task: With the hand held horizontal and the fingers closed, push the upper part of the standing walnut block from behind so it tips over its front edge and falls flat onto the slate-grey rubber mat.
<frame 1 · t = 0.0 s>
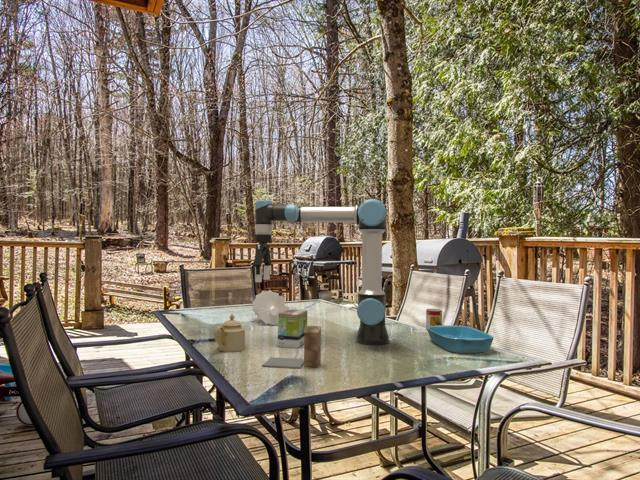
hand: (262, 281, 214), 28 cm above the table, tool pointing down, fingers open, 13 cm apart
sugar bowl: (230, 350, 198), on the table
walnut block: (312, 365, 176), on the table
casserole dish: (458, 347, 211), on the table
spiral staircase: (269, 323, 268), on the table
mat: (284, 363, 177), on the table
tea box: (292, 344, 211), on the table
canned food: (433, 333, 242), on the table
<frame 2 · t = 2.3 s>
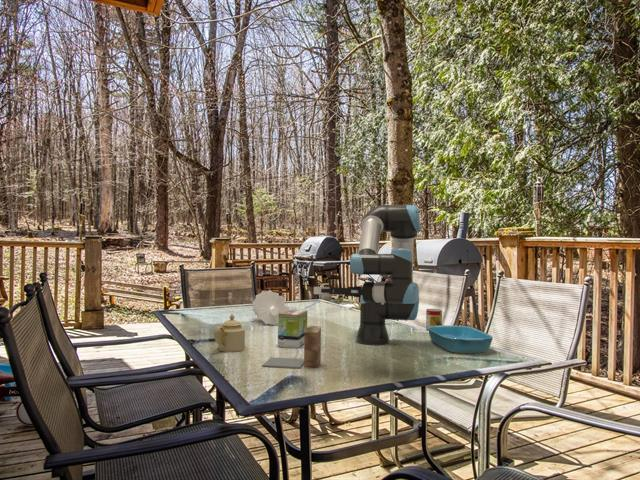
hand: (321, 290, 180), 27 cm above the table, tool horizontal, fingers open, 13 cm apart
nothing on the table moved.
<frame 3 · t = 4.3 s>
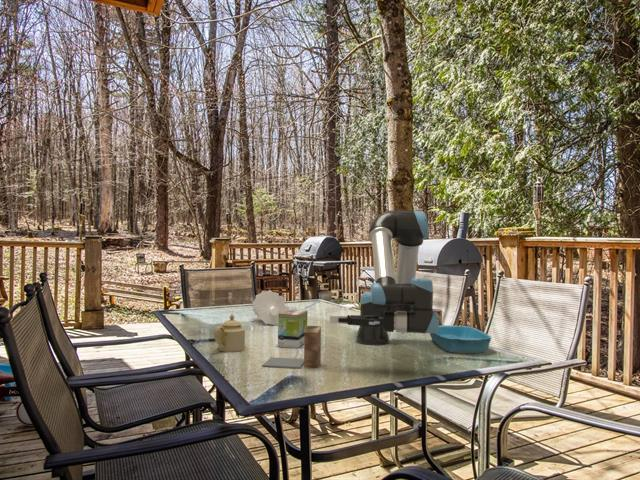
hand: (329, 319, 174), 17 cm above the table, tool horizontal, fingers closed
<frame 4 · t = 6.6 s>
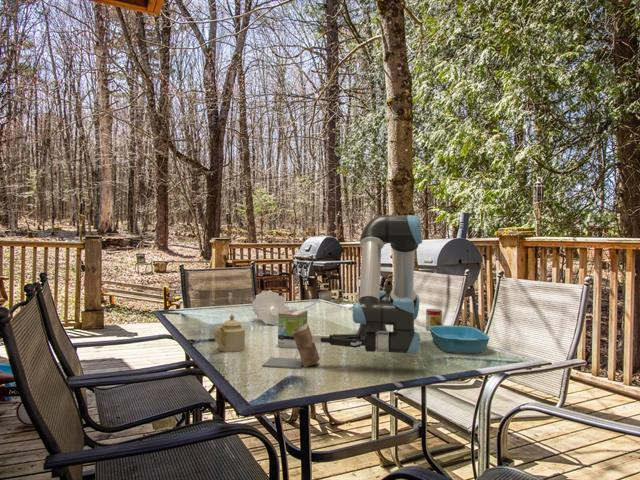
hand: (312, 338, 175), 10 cm above the table, tool horizontal, fingers closed
walnut block: (312, 362, 176), point 1 cm above the table, tilted 20°
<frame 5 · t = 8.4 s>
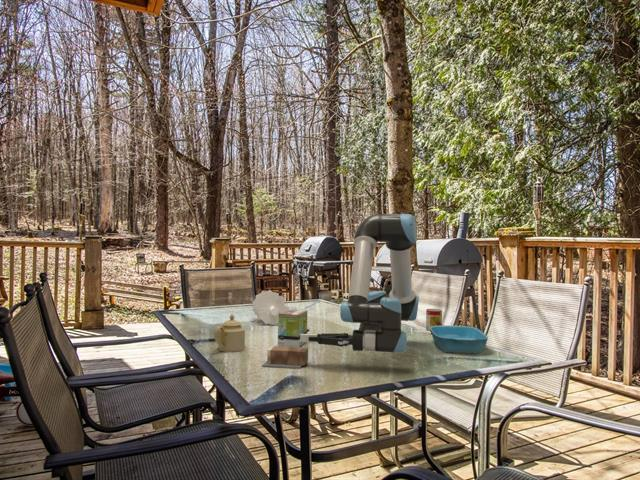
hand: (300, 337, 176), 10 cm above the table, tool horizontal, fingers closed
walnut block: (306, 356, 176), point 3 cm above the table, tilted 90°, touching mat
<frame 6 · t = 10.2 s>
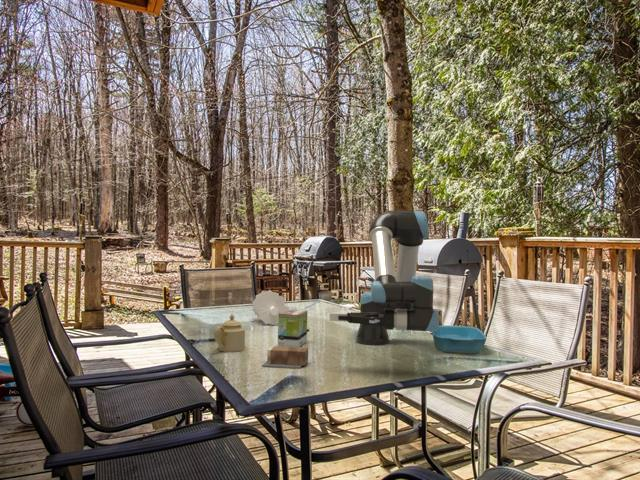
hand: (330, 316, 174), 18 cm above the table, tool horizontal, fingers closed
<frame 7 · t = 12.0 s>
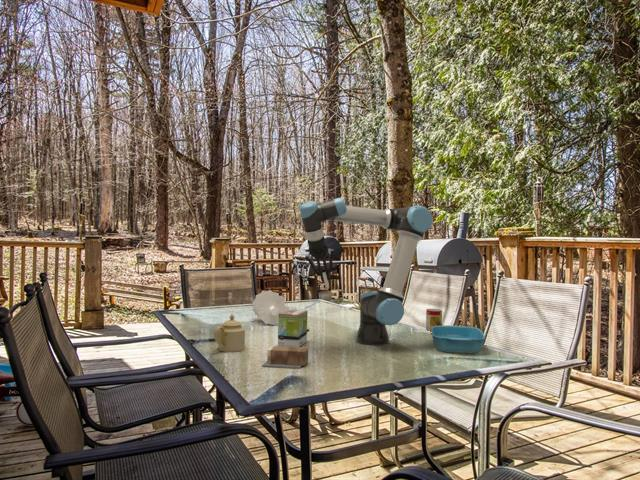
hand: (327, 286, 208), 26 cm above the table, tool tilted 25°, fingers closed
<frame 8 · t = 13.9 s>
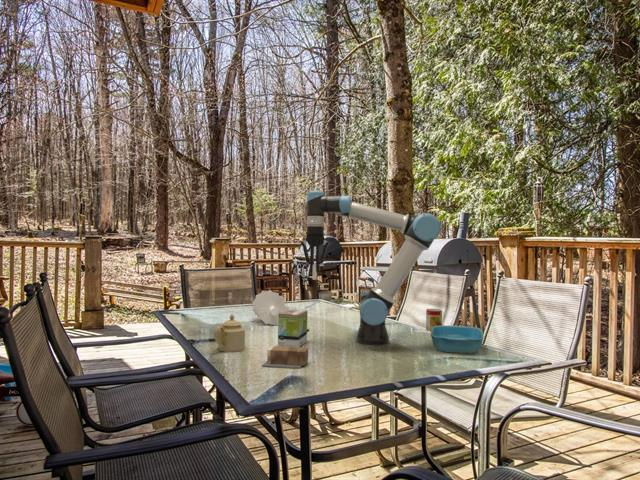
hand: (314, 279, 208), 29 cm above the table, tool pointing down, fingers closed
at the end: walnut block tilted 90°; walnut block inside the target area (10.7 cm from its centre), point 3.1 cm above the table; the gripper is holding nothing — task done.
